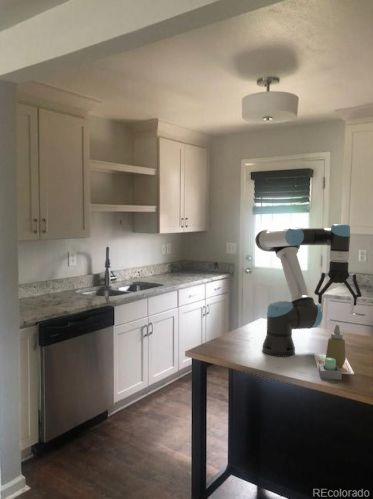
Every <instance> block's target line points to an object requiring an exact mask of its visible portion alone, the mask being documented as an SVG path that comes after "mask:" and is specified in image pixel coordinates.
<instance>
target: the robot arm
mask: <svg viewBox="0 0 373 499" xmlns="http://www.w3.org/2000/svg"><path fill="white" fill-rule="evenodd" d="M330 227H331V228H330ZM330 227H290V228H285V229H263V230H260V231H259V232H257V234H256V237H255V245H256V246H257V248H259V249H260V250H261V251H264V252H270V253H272V252H274V253H275V257H277V259H280V264H281V266H282V270H283V273H284V277H285V280H286V284H287V288H288V292H289V295H290V299H291V301H288V300H287V301H286V300H284V301H283V300H281V301H280V300H279V301H274V302H271V303H269V305H268V306H267V312H266V317H267V318H266V335H265V337H264V340H263V344H262V347H261V348H262V353H265V354H267V355H270V356H275V357H290V356H293V355H295V353H296V347H295V344H294V340H293V333H292V332H293V330H302V329H303V330H304V329H314V328H315V329H316V328H318V327H319V326H320V325H321V323H322V320H323V316H324V315H323V314H324V301H325V298H324V294H325V293H326V291H327V290H328V289H329V287H330V286H331V285H333V284H344V285H345V287H346V288H347V289H348V292H350V294H351V295H352V296H351V297H350V307H349V308H350V309H349V312H350V315H353V314H354V308H355V306H357V299H358V298H361V297H362V292H361V290H360V287H359V284H358V281H357V274H355V273H349V265H350V263H349V260H350V242H351V226H350V225H349V224H345V223H344V224H343V223H338V224H337V223H333V224H331V226H330ZM301 246H329V247H330V249H329V260H330V261H329V266H328V267H329V271H328V272H324V271H322V272H321V274H320V279H319V281H318V283H317V284H316V287H315V290H314V292H313V293H314V294H315V295H316V296H318V298H317V299H318V301H317V302H318V303H317V302H315V300H314V297H313V296H310V294H309V292H308V291H309V290H308V287H307V284H306V281H305V278H304V274H303V271H302V269H301V264H300V262H299V259H298V253H299V250H300V249H301ZM327 277H329V280H327V282H326V283H325V285H324V286H323V283H324V280H325V278H327ZM348 278H350V279H351V280H352V283H353V287H354V290H355V291H354V290H353V288H352V287H351V286H350V284H349V282H348V281H347V280H348ZM322 286H323V288H321V287H322Z"/></svg>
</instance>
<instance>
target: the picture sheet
mask: <svg viewBox="0 0 373 499" xmlns="http://www.w3.org/2000/svg"><path fill="white" fill-rule="evenodd" d="M313 358H314V361H315V364H316V368H317V370H318V368H319V364H325V358H326V354H316V353H314V354H313ZM340 369H341V372H342V375H355V372H354V371H353V368H352V367H351V365H350V363H349V361H348V359H347V358H346V360H345V362H344V365H343V367H342V368H340ZM318 372H319V370H318Z"/></svg>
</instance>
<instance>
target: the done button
mask: <svg viewBox="0 0 373 499" xmlns="http://www.w3.org/2000/svg"><path fill="white" fill-rule="evenodd" d="M335 368H336V359H334V358H325V369H324V370H334V371H335Z"/></svg>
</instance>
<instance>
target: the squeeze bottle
mask: <svg viewBox="0 0 373 499" xmlns="http://www.w3.org/2000/svg"><path fill="white" fill-rule="evenodd" d="M343 334H344V333H342V332H341V329H340V325H339V324H336V325H335V328H334V330H333V331H332V332H331V333H330V337H329V338H328V341H327V347H326V354H325V355H326V358H334V359H336V365H339V367H340V368H342V367H343V365H344V362H345V360H346V359H347V357H346V356H347V355H346V343H345V338H343Z"/></svg>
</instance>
